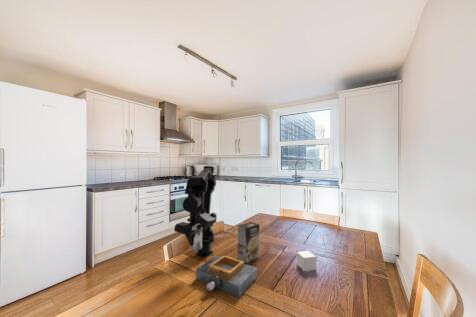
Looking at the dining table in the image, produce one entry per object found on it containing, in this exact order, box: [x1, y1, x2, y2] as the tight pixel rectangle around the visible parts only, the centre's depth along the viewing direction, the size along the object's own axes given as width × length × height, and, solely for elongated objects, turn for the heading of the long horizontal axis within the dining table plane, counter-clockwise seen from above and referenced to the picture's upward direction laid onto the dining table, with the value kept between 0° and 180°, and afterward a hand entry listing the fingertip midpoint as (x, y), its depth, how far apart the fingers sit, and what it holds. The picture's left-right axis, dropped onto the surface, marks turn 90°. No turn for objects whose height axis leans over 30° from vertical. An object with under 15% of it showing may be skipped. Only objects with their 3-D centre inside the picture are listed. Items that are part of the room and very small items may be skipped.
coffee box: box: [236, 221, 260, 264], centre depth 97 cm, size 9×6×16 cm
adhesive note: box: [296, 250, 317, 272], centre depth 88 cm, size 6×6×6 cm
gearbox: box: [195, 255, 258, 298], centre depth 77 cm, size 18×20×6 cm
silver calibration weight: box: [189, 227, 203, 251], centre depth 83 cm, size 5×6×9 cm
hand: (196, 243), depth 83 cm, fingers closed on silver calibration weight, 5 cm apart
